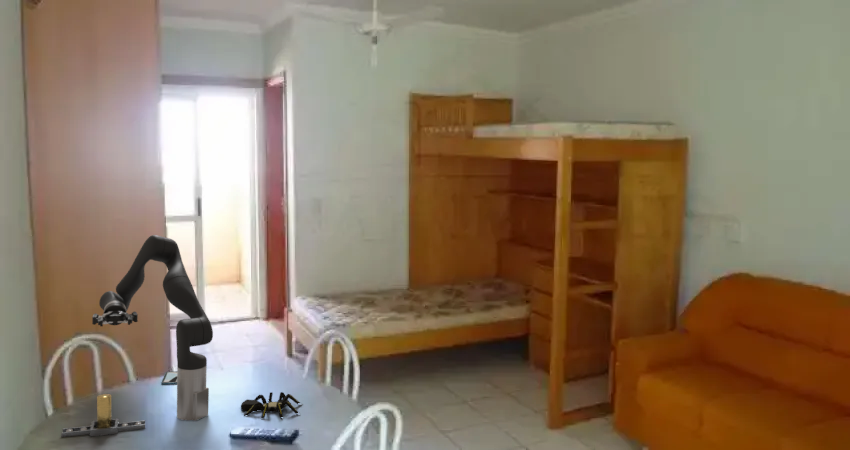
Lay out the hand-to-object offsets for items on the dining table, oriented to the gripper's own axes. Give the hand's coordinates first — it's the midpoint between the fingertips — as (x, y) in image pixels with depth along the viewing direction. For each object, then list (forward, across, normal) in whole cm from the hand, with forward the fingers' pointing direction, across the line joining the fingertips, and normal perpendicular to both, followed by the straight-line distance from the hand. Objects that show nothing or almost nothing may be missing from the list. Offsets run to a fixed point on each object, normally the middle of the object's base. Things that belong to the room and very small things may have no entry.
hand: (115, 322), depth 226 cm
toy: (+20, +50, +30) cm, 61 cm away
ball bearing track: (+20, -3, +30) cm, 36 cm away
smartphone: (-25, +21, +30) cm, 44 cm away
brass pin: (+20, -3, +30) cm, 36 cm away
